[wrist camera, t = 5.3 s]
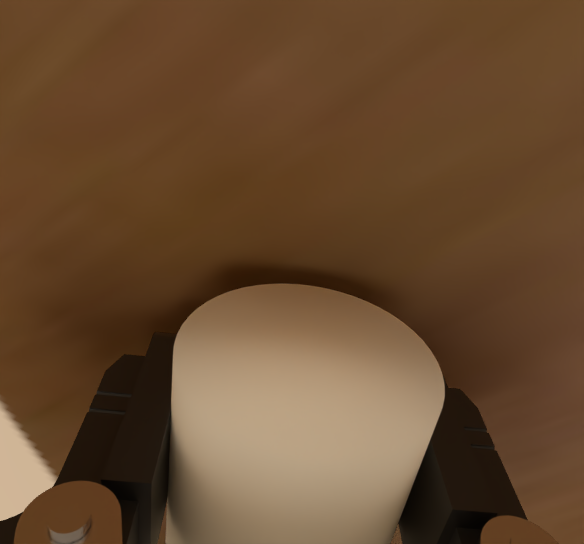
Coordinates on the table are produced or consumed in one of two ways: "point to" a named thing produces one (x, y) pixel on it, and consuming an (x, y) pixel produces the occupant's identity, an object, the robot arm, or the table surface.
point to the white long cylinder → (296, 419)
